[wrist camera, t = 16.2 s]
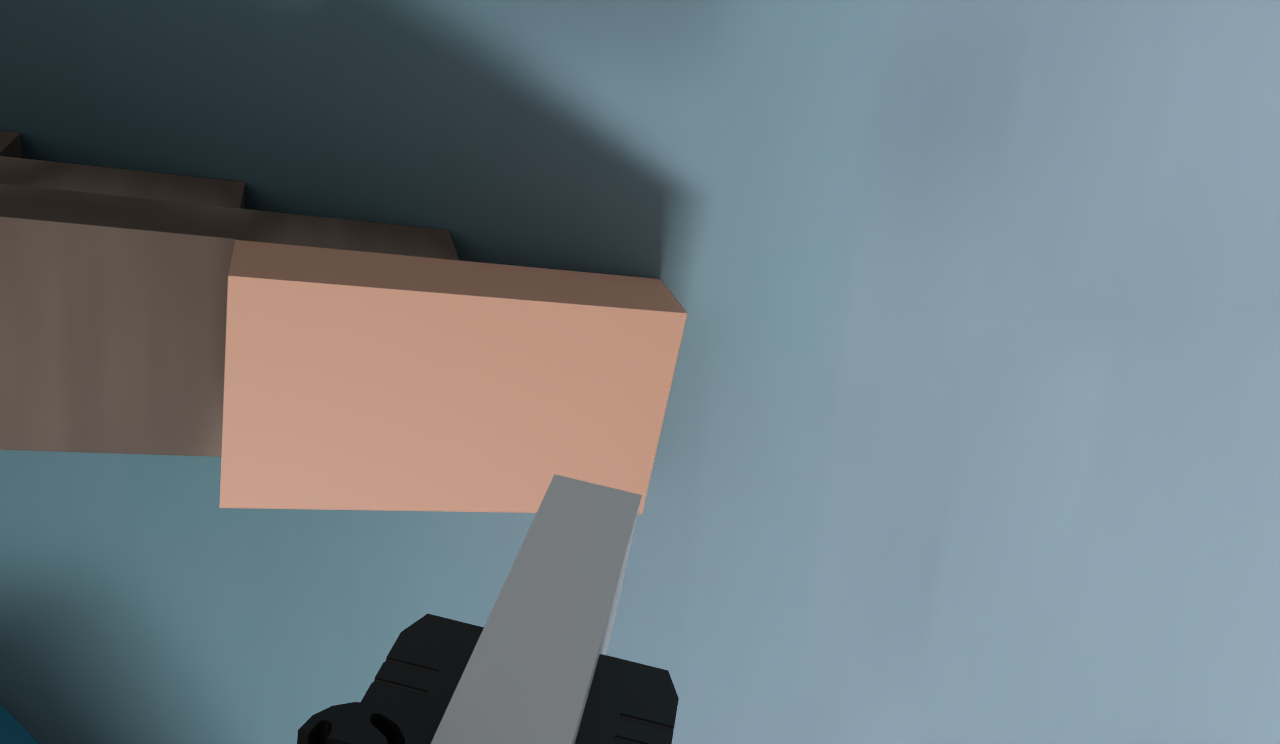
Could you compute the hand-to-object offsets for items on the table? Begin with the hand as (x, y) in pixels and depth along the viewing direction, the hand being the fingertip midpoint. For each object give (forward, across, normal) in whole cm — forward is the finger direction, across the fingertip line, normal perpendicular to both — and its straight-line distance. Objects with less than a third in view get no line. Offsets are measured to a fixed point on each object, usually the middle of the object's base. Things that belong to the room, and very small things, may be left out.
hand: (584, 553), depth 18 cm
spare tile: (+7, 0, 0) cm, 7 cm away
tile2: (+7, -5, 0) cm, 8 cm away
